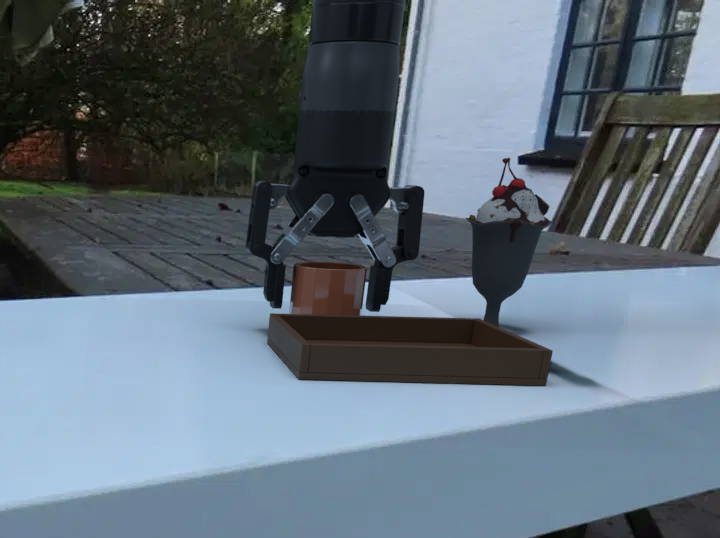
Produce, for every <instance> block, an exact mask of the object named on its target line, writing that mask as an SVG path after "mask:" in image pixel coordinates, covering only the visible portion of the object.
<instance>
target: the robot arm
mask: <svg viewBox="0 0 720 538" xmlns="http://www.w3.org/2000/svg"><path fill="white" fill-rule="evenodd" d="M405 7H406V0H312V9H311V17H310V26H309V27H310V28H309V37H308V48H307V53H306V54H307V55H306V59H305V62H304V63H305V64H304V68H303V72H302V78H301V87H300V92H299V94H298V106H299V107H298V117H297V129H296V139H295V149H294V159H293V169H292V170H293V171H292V175H291V176H290V177H291V178H290V180H289V181H288V183H287V184H281V183H270V182H268V181H264V180H258V181H256V182H255V183H254V184H253V187H252V193H251V200H250V201H251V202H250V209H249V218H248V223H247V232H246V240H245V249H246V251H247V252H248V253H250V254H251V255H253V256H255V257H257V258H260V259H262V260H263V261H264V264H265V270H264V282H263V291H262V294H263V297H264V300H265V301H267V302H269V307H270V308H272V309H275V310H276V309H278V310H279V309H282V306H283V299H284V288H285V280H286V268H287V265H286V264H284V261H285V260H286V259H287V258H288V256H289V255H290V254H291V253H292V251H293V250H294V249H295V248H296V247H297V246H298V245H299V244H301V243H302V242H303V241H304V239H305V238H306V237H307V236H308V235H309V234H310V235H312V236H314V237H320V238H322V237H323V238H327V237H331V236H334V235H336V236H339V237H342V238H354V237H355V236H356V237H357V236H358V237H359V239H360V241H361V242H362V243H363V245H365V247H366V249H367V250H368V252H369V254H370V255H371V257H372V259H373V262H374V263H373V265H370V267H369V275H368V282H367V290H366V297H365V309H366V310H367V311H369V312H373V313H377V312H378V313H379V312H380V311H381V308H382V306H386V305H387V304H388V301H389V299H390V291H391V284H392V277H393V270H394V268H395V267H396V266H397V265H398V264H401V263H403V262H407V261H414V260H416V259H417V258H418V257H419V254H420V244H421V233H422V224H423V211H424V201H425V189H424V187H422V186H421V185H417V184H407V185H404V186H392V187H391V186H389V183H388V177H387V173H388V167H389V160H390V151H391V144H392V137H393V136H392V135H393V128H394V120H395V113H396V106H397V97H398V90H399V89H398V88H399V81H400V50H401V49H400V45H401V38H402V31H403V23H404V16H405V15H404V14H405ZM284 197H285V200H286V201H287V203H288V205H289V206H290V209H292V211H293V213H294V215H293V216H292V218H290V220H289V221H288V223H287V224H286V225H285V226H284V227H283V229H281V232H280V233H279V235H278V236H277V237H276V239H275V240H274V241H273V242H272V243H271V244H268V243H266V238H267V232H268V224H269V217H270V210H275V209H276V208H277V207H278V205H279V203H280V200H281V199H283V198H284ZM389 201H390V202H391V203H392V209H393V211H394V212H396V213H398V221H397V231H396V241H395V246H392V247H391V246H390V244H389V242H388V240H387V237H386V234H385V233H384V231H383V229H382V228H381V225H380V224H379V223H378V221H377V218H376V216H377V215H378V214H379V213H380V212H381V210H382V209H383V208H384V207H385V206H386V204H387V203H388V202H389Z"/></svg>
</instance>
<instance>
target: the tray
mask: <svg viewBox="0 0 720 538" xmlns="http://www.w3.org/2000/svg"><path fill="white" fill-rule="evenodd" d="M268 320H269V321H268V331H267V345H268V346H269V347H270V348H271V349H272V350H273V351H274V352H275V354H276V355H277V356H278V357H279V359H281V361H282V362H283V363H284V364H285V366H286V367H287V368H288V369H289V370H290V371H291V372H292V373H293V375H295V377H296V378H297V379H298V380H302V381H303V380H307V381H350V382H382V383H383V382H387V383H421V384H422V383H423V384H424V383H427V384H430V383H431V384H459V385H460V384H463V385H464V384H465V385H466V384H467V385H500V386H501V385H503V386H504V385H505V386H539V387H541V386H542V387H543V386H544V387H546V386H547V383H548V378H549V372H550V367H551V362H552V358H553V353H554V352H553V351H554V350H552V349H550V348H548V347H546V346H543V345H541V344H539V343H536V342H535V341H532V340H529V339H528V338H525V337H523V336H520V335H519V334H516V333H513V332H511V331H509V330H507V329H504V328H502V327H500V326H499V327H498V326H495V325H493V324H491V323H488V322H486V321H484V320H483V319H482V318H480V317H479V318H478V317H476V318H475V317H473V318H471V317H440V316H438V317H435V316H433V317H432V316H399V315H398V316H395V315H361V316H358V315H317V314H289V313H269V319H268Z"/></svg>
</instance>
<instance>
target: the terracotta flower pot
mask: <svg viewBox="0 0 720 538" xmlns="http://www.w3.org/2000/svg"><path fill="white" fill-rule="evenodd" d="M292 268H293V269H292V279H291V289H290V300H289V309H288V314H317V315H358V316H362V314H363V304H364V297H365V290H366V289H365V288H366V280H367V272H368V267H367V266H365V265H361V264H357V263H350V262H349V263H348V262H337V261H333V262H332V261H300V262H299V261H298V262H295V263H294V264H293V267H292Z"/></svg>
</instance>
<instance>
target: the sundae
mask: <svg viewBox="0 0 720 538" xmlns="http://www.w3.org/2000/svg"><path fill="white" fill-rule="evenodd" d="M501 161H502V162H503V164H504V166H503V170H502V173H501V176H500V180H499V183H498V185H497V186H495V187H493V189H492V191H491V194H492V196H493V197H491V198H489V199H488V200H486V201H485V202H484V203H483V204H481V206H480V207H479V208H478V209H477V213H476V215H473V214H470V215H469V217H465V220H466V221H468V222H469V223H470V225H471V229H472V230H471V231H472V233H471V234H472V235H471V236H472V237H471V238H472V250H471V274H472V275H471V276H472V277H471V278H472V285H473V286H474V288H475V290H476V291H477V293H479V294H480V295H481V296H482V297H483V298H484V299H485V302H486V305H485V312H484V316H483V319H482V320H484V321H486V322H488V323H491V324H493V325H495V326H498V327H500V311H501V306H502V304H503V302H504V301H505V300H507V299H508V298H510V297H512V296H514V295H515V294H516V293H517V292H519V290H520V289H521V288H522V287H523V285H524V283H525V280H526V279H527V276H528V273H529V270H530V267H531V264H532V261H533V257H534V255H535V252H536V248H537V245H538V243H539V240H540V238H541V234H542V232H543V230H544V229H547V228H548V227H550V226H551V225H552V223H553V221H552V220H550V219H549V218H547V217H546V216H545V215H546V214H547V213H548V211H549V210H550V205H549V204H548V203H547V202H546V201H545V200H544V199H543V198H541V196H539V195H538V194H535V193H534V191H533V189H532V188H529V187H527V185H526V182H525V180H524V179H523V178H520V177H519V178H518V177H516V175H515V174H514V172H513V170H512V168H511V162H510V161H511V157H506V158H502V159H501ZM507 167H508V171H509V173H510V174H511V176H512V177H513V179H512V180H510V182H509V184H508V185H505V184H502V183H503V181H504V177H505V173H506V169H507Z"/></svg>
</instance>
